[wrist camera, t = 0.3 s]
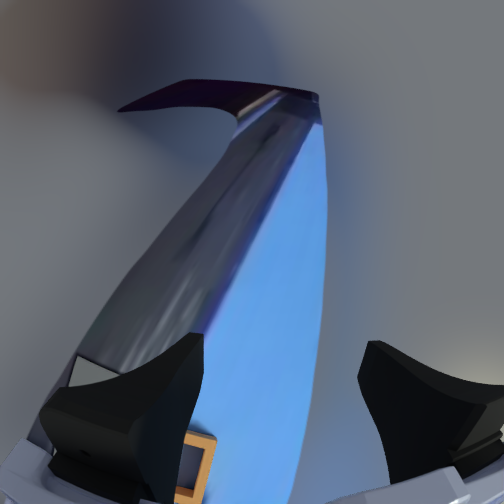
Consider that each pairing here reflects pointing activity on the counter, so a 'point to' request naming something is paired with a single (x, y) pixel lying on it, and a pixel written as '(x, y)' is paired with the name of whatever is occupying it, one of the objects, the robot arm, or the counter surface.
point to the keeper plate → (88, 374)
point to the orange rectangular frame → (193, 498)
